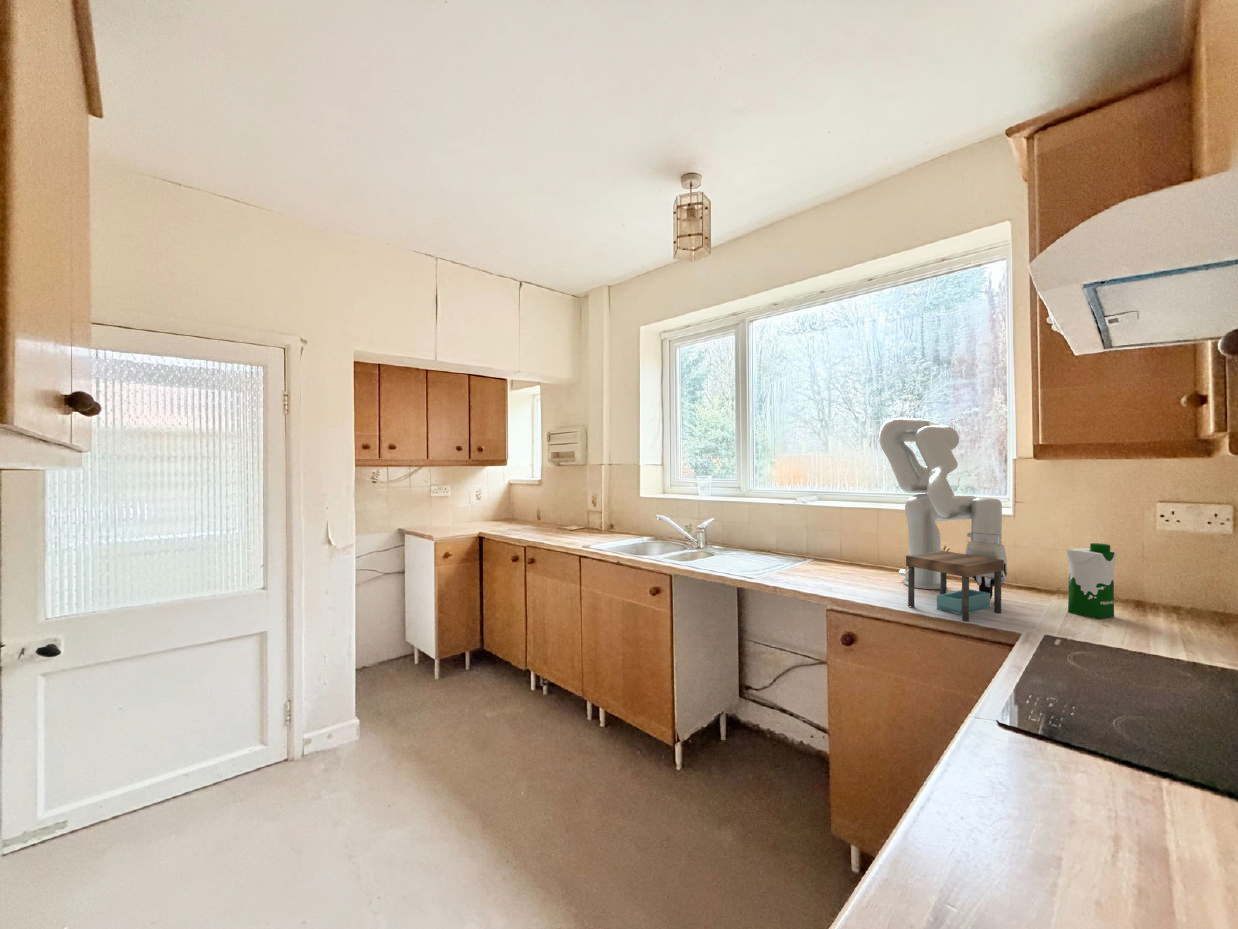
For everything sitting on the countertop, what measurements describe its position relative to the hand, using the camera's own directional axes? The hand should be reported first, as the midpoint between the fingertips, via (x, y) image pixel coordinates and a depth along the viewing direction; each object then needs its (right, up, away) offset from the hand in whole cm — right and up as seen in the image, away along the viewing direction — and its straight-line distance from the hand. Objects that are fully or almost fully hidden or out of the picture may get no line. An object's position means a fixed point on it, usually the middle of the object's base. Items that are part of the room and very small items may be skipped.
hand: (985, 598), depth 155 cm
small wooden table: (-15, -1, -8) cm, 17 cm away
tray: (-11, -1, -6) cm, 13 cm away
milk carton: (+20, -1, -13) cm, 24 cm away
